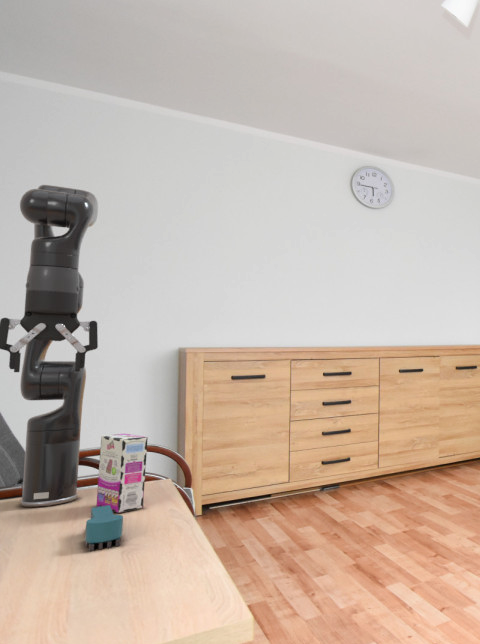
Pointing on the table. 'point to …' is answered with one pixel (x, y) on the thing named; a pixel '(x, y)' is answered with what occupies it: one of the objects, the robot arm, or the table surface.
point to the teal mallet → (103, 525)
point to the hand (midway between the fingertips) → (47, 371)
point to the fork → (100, 544)
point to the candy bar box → (122, 472)
